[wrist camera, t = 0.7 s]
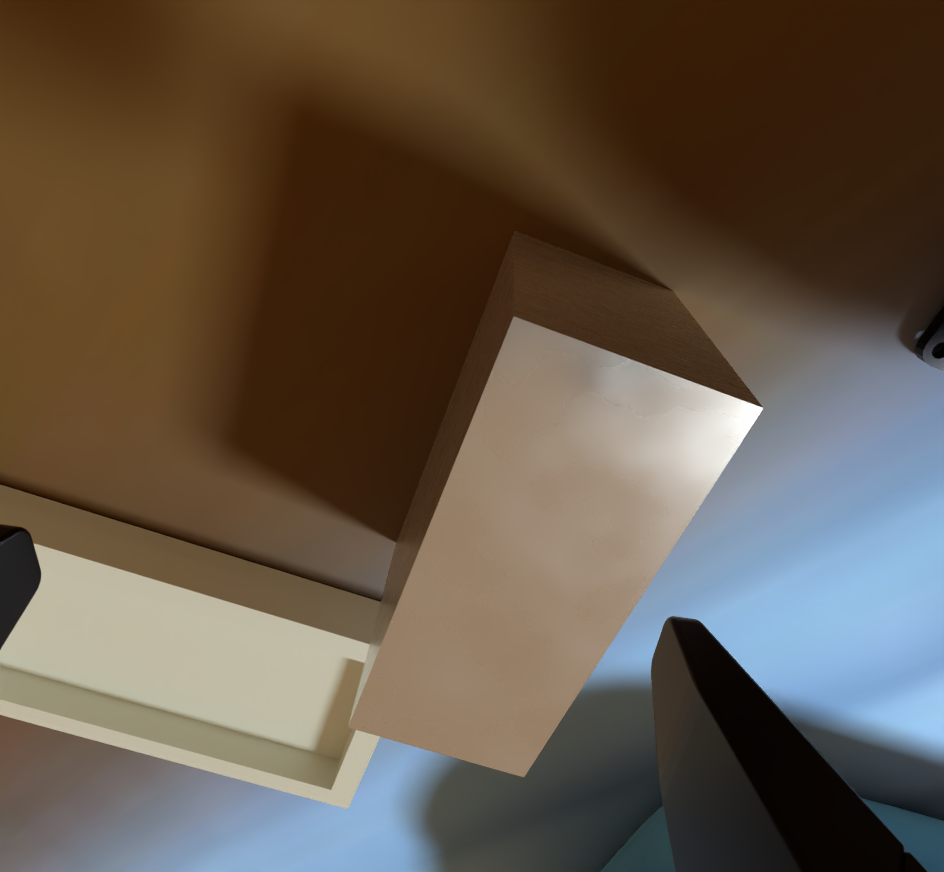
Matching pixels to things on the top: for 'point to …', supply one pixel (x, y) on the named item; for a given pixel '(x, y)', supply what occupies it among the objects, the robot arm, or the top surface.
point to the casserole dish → (929, 839)
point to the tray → (187, 654)
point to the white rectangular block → (545, 505)
